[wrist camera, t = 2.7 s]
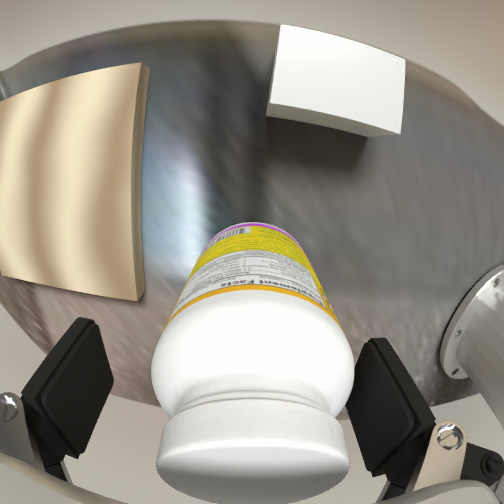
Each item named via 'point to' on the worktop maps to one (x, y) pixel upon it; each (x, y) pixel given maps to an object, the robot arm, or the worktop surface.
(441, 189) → the worktop surface
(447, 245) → the worktop surface
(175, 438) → the supplement bottle
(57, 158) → the birch board
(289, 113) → the white block
